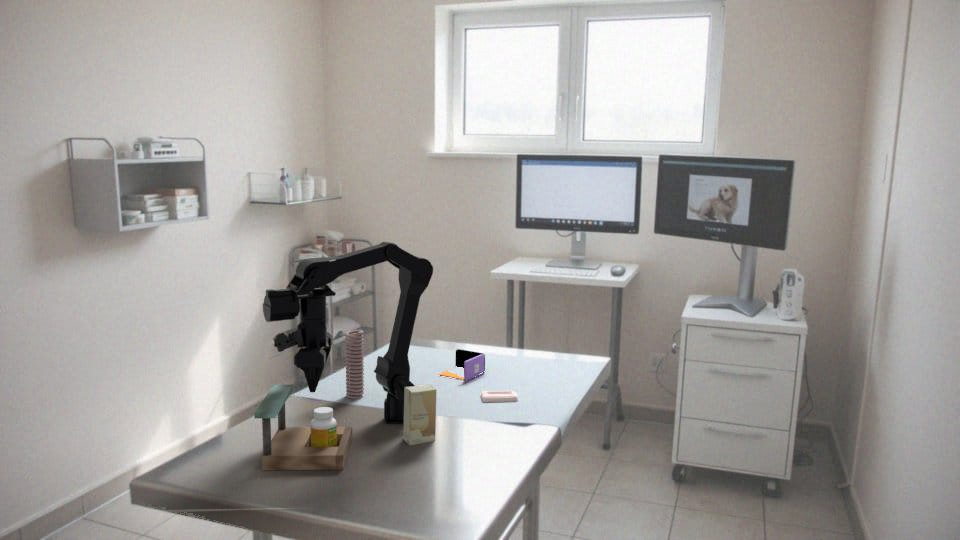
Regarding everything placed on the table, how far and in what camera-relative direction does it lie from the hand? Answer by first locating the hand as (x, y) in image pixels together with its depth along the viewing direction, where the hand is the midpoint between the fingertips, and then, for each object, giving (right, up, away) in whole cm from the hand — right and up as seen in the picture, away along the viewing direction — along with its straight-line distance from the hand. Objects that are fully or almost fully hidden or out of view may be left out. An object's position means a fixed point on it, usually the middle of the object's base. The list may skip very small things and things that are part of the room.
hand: (315, 385), depth 163 cm
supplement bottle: (+4, -13, -8) cm, 16 cm away
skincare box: (+23, -13, 0) cm, 26 cm away
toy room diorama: (+31, -6, +49) cm, 58 cm away
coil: (+4, -8, +29) cm, 30 cm away
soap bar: (+42, -9, +28) cm, 51 cm away
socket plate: (+1, -13, -8) cm, 15 cm away
